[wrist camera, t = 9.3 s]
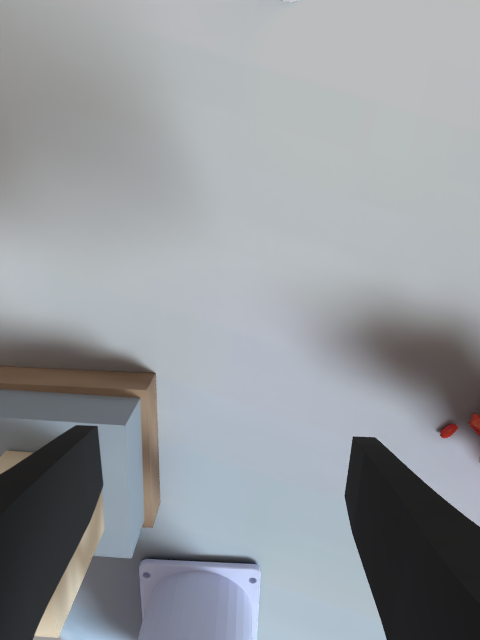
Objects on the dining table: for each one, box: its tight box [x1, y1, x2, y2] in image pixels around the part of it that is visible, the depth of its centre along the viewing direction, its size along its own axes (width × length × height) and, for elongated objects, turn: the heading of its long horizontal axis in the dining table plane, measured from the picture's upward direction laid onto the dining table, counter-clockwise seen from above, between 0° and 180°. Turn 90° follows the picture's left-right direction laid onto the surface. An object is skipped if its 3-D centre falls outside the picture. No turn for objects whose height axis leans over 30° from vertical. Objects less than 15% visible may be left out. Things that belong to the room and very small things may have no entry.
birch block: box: [0, 451, 104, 638], centre depth 17 cm, size 4×4×5 cm
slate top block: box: [0, 389, 144, 559], centre depth 20 cm, size 8×8×2 cm
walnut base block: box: [0, 366, 160, 528], centre depth 23 cm, size 9×9×2 cm
